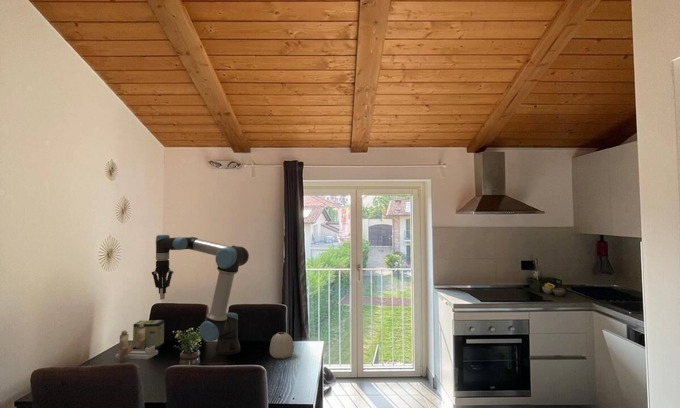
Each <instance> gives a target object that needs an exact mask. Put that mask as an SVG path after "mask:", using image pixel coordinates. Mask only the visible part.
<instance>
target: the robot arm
mask: <svg viewBox="0 0 680 408" xmlns="http://www.w3.org/2000/svg"><path fill="white" fill-rule="evenodd" d="M182 250H191V251H195V252H199V253H204V254H206V255H207V254H208V255H212V256H215V263H216V265H217V268H216V269H217V270H218V275H217V280H216V285H215V289H214V293H213V297H212V302H211V307H210V311H209V312H208V313H206V316H205V321H203V322H202V323H201V324H200V326H199V334H200V336H201V338H202V339H203V340H204V341H206V342H215V341H216V343H215V346H214V349H213V350H214V352H213V353H214V354H215V355H217V356H231V355H236V354H238V353H240V352H241V345H240V344H241V343H240V341H239V338H238V337H239V335H238V333H239V330H238V329H239V314H238V313H237V312H227V308H228V304H229V301H230V300H229V299H230V294H231V292H232V291H231V290H232V287H233V282H234V278H235V275H236V274H237V273H238V272H239V267H241V266H244V265H245V264H246V263H248V260H249V258H250V257H249V256H250V255H249V251H248V249H246V248H245V247H244V246H238V245H230V246H229V245H226V244H221V243H218V242H212V241H209V240H204V239H200V238H198V237H195V236H190V237H184V236H183V237H182V236H181V237H179V236H178V237H170V235H169V234H157V235H156V237H155V269H154V271H151V274H152V277H153V281H154V285H155V289H156V288H157V289H158V294H159V300H160V301H161V300H165V299H166V298H165V297H166V294H167V288H168V287H170V285H171V281H172V276H173V274H174V271H173V270H171V268H170V251H182Z"/></svg>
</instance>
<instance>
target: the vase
mask: <svg viewBox="0 0 680 408" xmlns="http://www.w3.org/2000/svg"><path fill="white" fill-rule="evenodd" d="M269 344H270V345H269V354H270V356H272V358H274V359H278V360H279V359H281V360H283V359H288V358H290V357H291V356H292V354H293V353H294V352H295V351H294V350H295V347H294V346H295V345H294V340H293V338H292V336H291V335H290V334H289V333H287V332H284V331H281V332H277V333H276V334H274V335H273V336H272V338H271V340H270V343H269Z"/></svg>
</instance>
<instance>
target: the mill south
mask: <svg viewBox="0 0 680 408" xmlns="http://www.w3.org/2000/svg"><path fill="white" fill-rule="evenodd" d="M136 350H145V327H144V325H143V324H140V325H139V328H137V347H136Z"/></svg>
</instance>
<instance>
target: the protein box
mask: <svg viewBox="0 0 680 408" xmlns="http://www.w3.org/2000/svg"><path fill="white" fill-rule="evenodd" d="M140 324H143V325H144V327H145V348H147V347H148V346H150V345H153V346H155V350H158V349H160V348H161V347H162V346H163V345H164V344H165V340H164V339H165V320H164V319H157V320H152V319H151V320H139V321H137V322H135V323H133V324H132V325H133V328H132V332H133V334H132V349H136V347H137V328H139V325H140Z"/></svg>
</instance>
